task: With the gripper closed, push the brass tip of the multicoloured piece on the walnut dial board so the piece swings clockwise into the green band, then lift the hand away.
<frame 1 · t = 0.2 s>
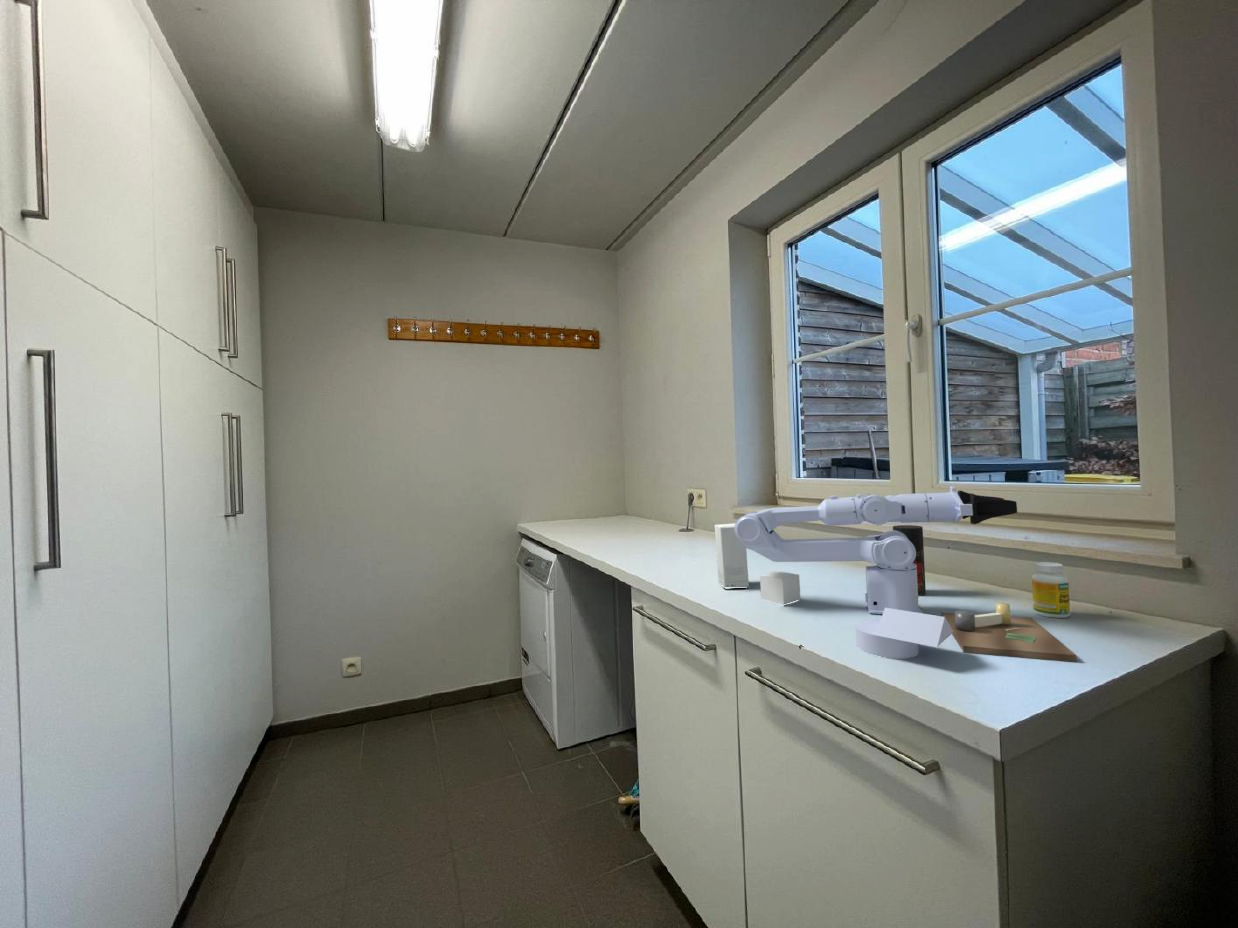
hand: (1009, 505, 96), 21 cm above the table, tool horizontal, fingers open, 7 cm apart
supplement bottle: (1051, 615, 97), on the table
dial board: (1000, 636, 87), on the table
deodorant: (910, 593, 117), on the table
tape dispenser: (900, 652, 82), on the table
skincare box: (732, 586, 131), on the table
adhesive note: (780, 602, 115), on the table
multicoloured piece: (983, 616, 89), point 3 cm above the table, hinge at 35.0°
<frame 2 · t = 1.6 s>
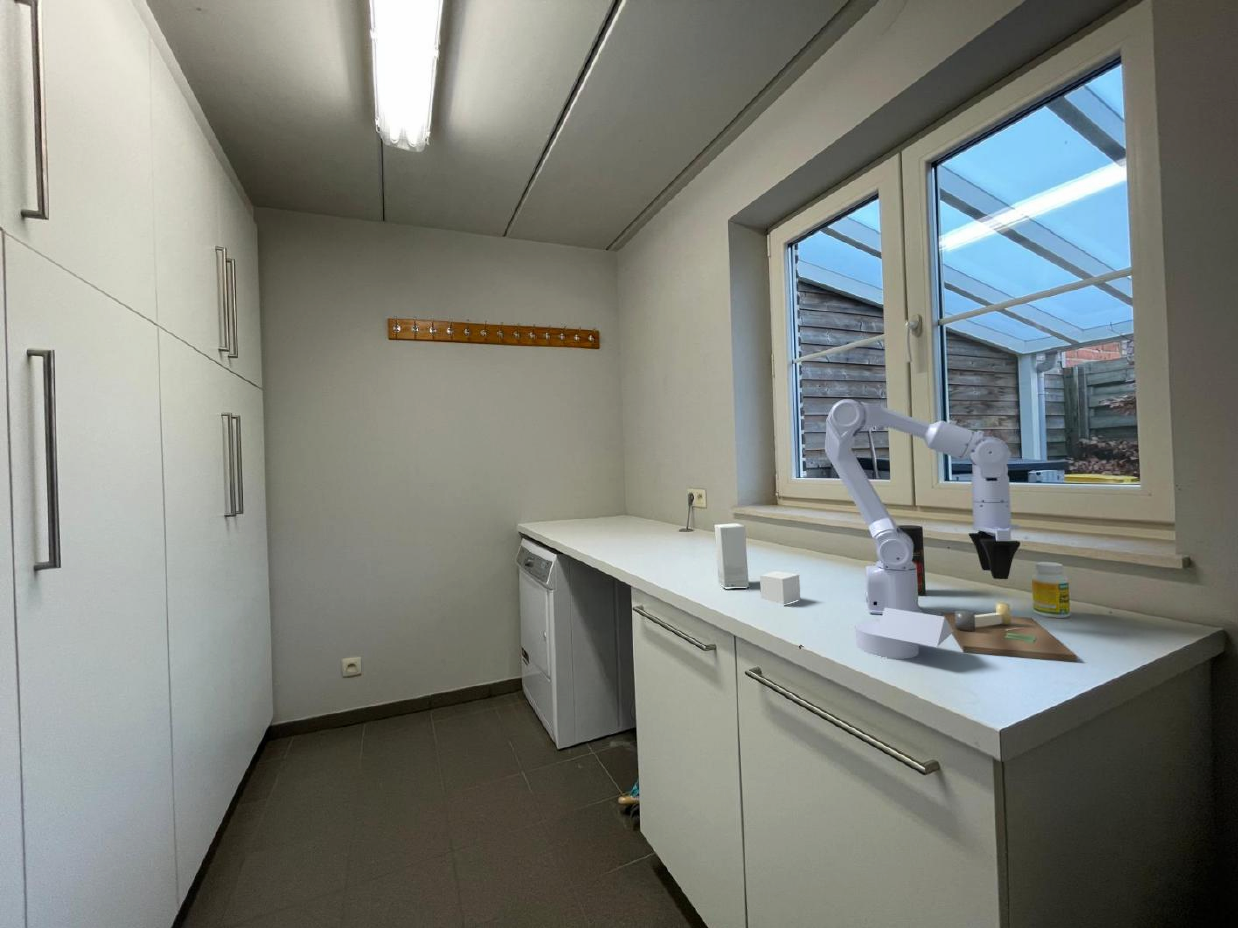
hand: (994, 574, 96), 8 cm above the table, tool pointing down, fingers open, 7 cm apart
nothing on the table moved.
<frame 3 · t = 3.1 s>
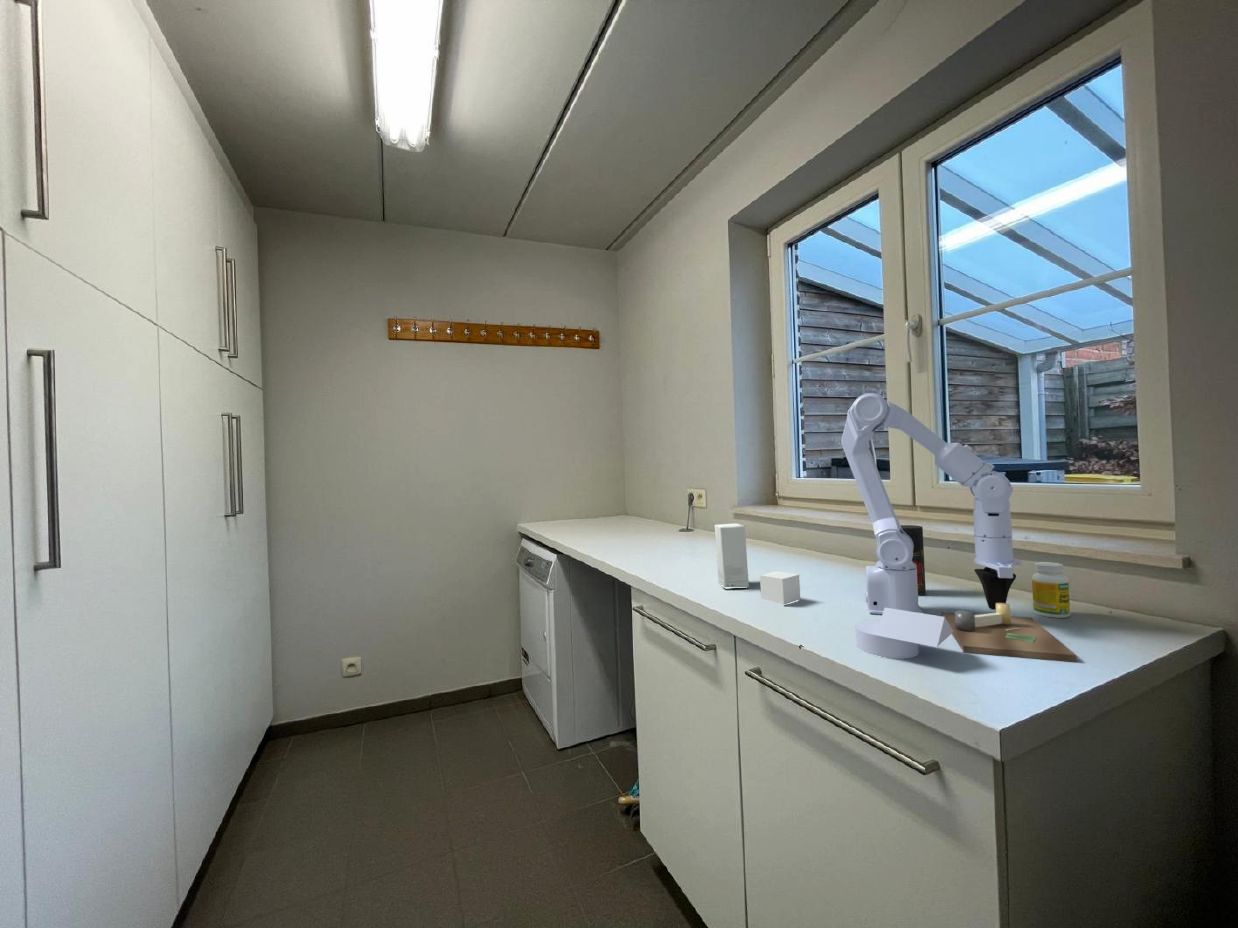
hand: (996, 608, 95), 2 cm above the table, tool pointing down, fingers closed
nothing on the table moved.
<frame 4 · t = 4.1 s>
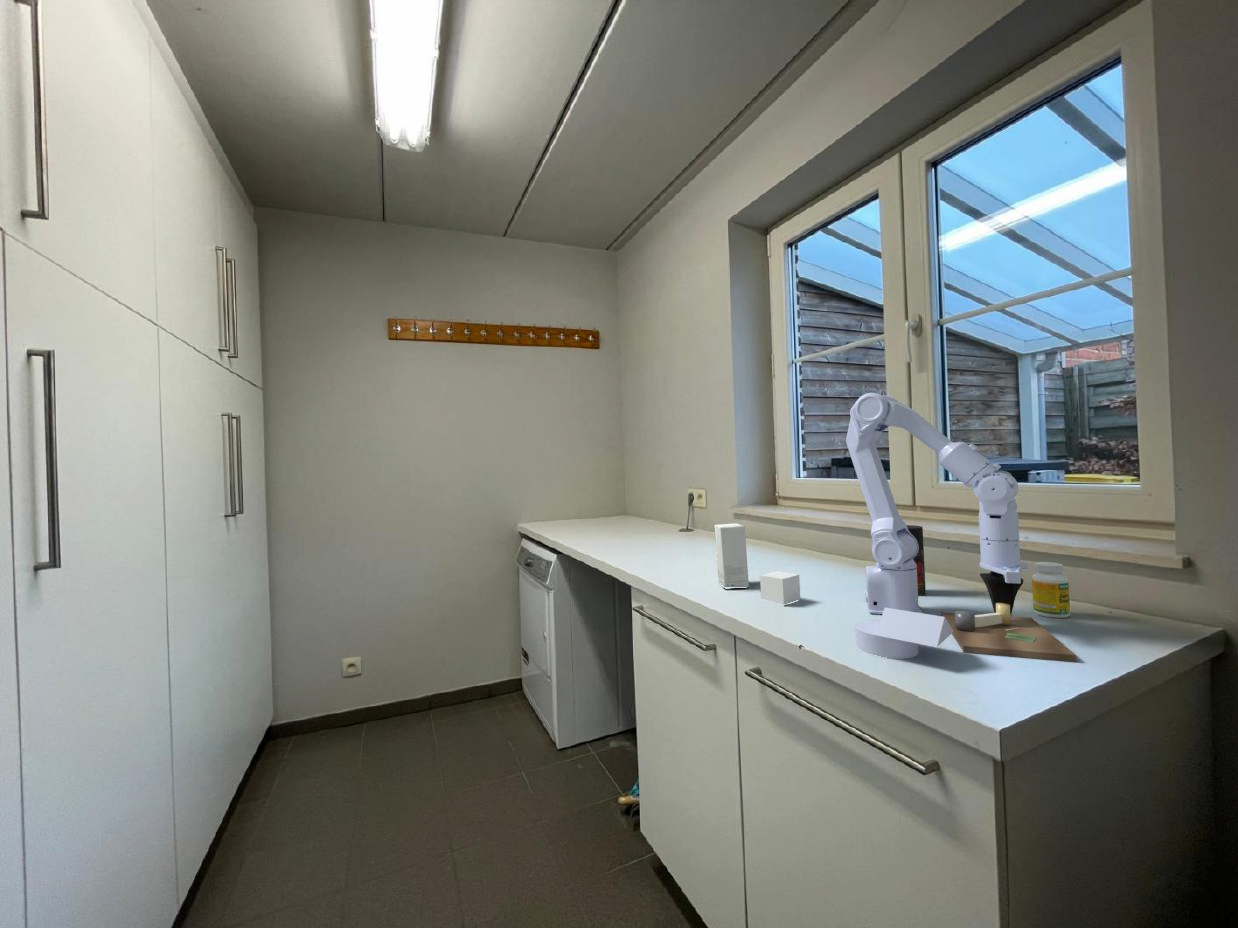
hand: (1002, 614, 92), 2 cm above the table, tool pointing down, fingers closed, pressing on multicoloured piece
multicoloured piece: (983, 616, 89), point 3 cm above the table, hinge at 35.0°, touching gripper
everything else where it was.
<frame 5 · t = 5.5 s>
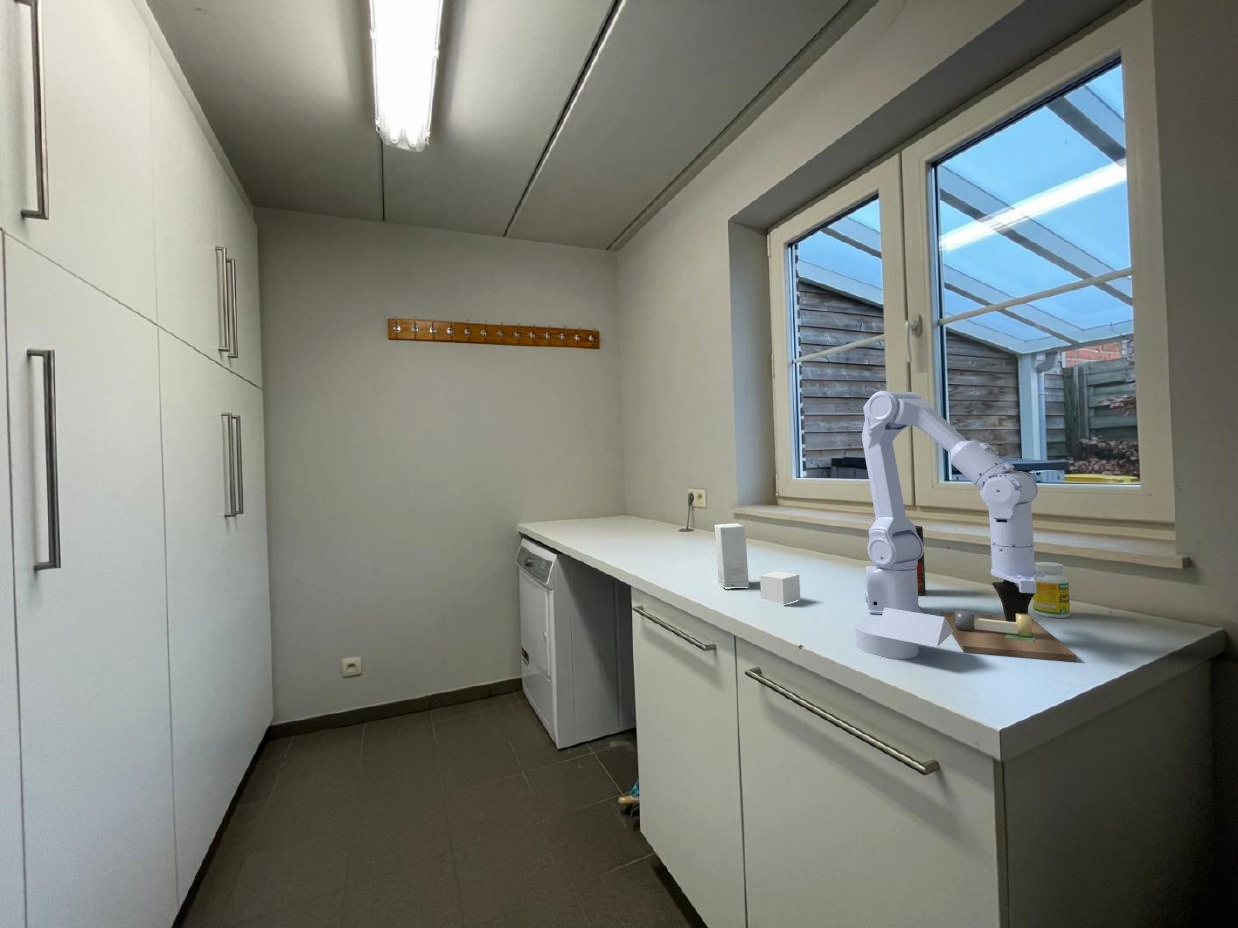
hand: (1016, 626, 85), 2 cm above the table, tool pointing down, fingers closed, pressing on multicoloured piece
multicoloured piece: (992, 621, 86), point 3 cm above the table, hinge at -11.0°, touching gripper
everything else where it was.
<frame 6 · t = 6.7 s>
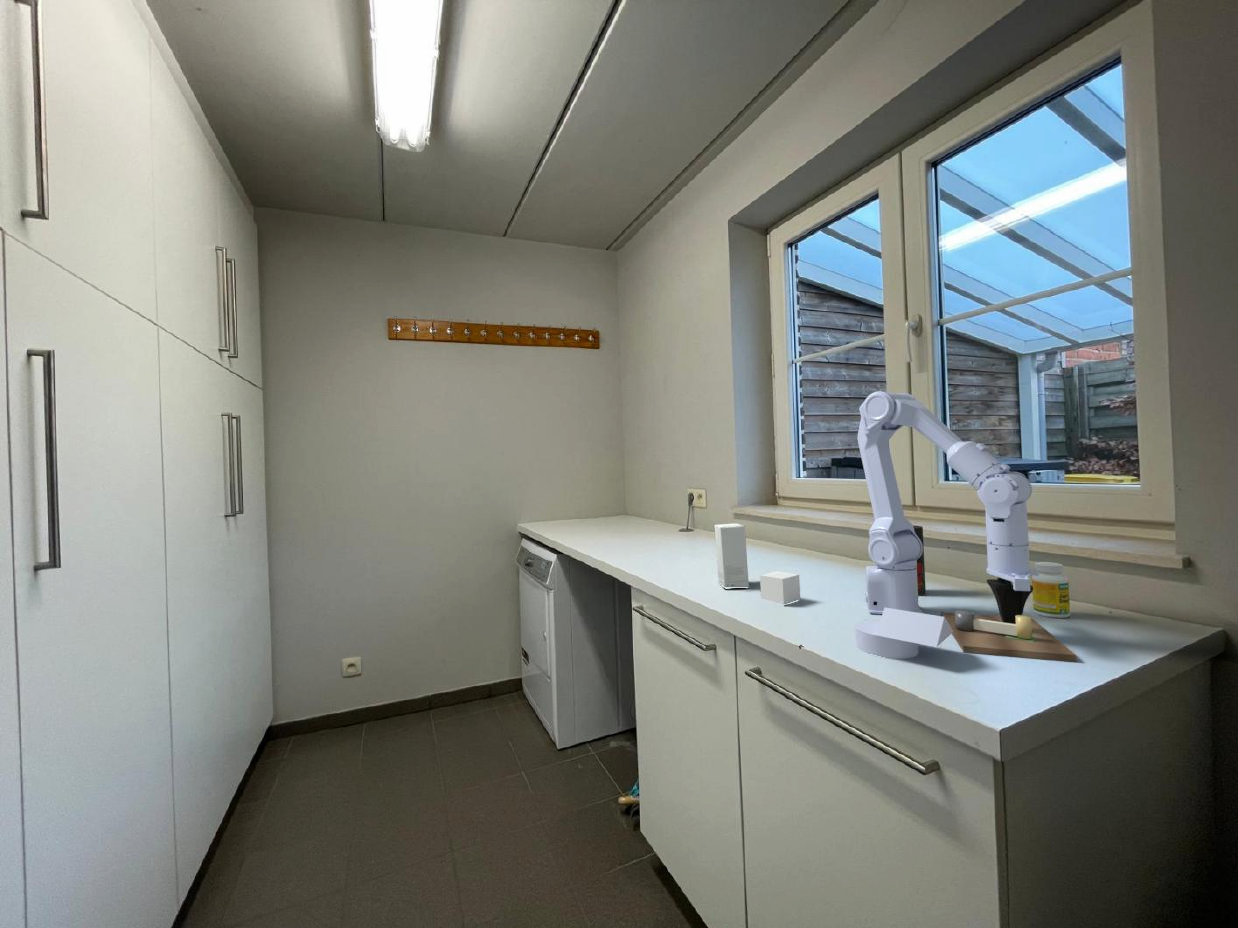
hand: (1010, 623, 87), 2 cm above the table, tool pointing down, fingers closed
multicoloured piece: (991, 622, 86), point 3 cm above the table, hinge at -21.1°
everything else where it was.
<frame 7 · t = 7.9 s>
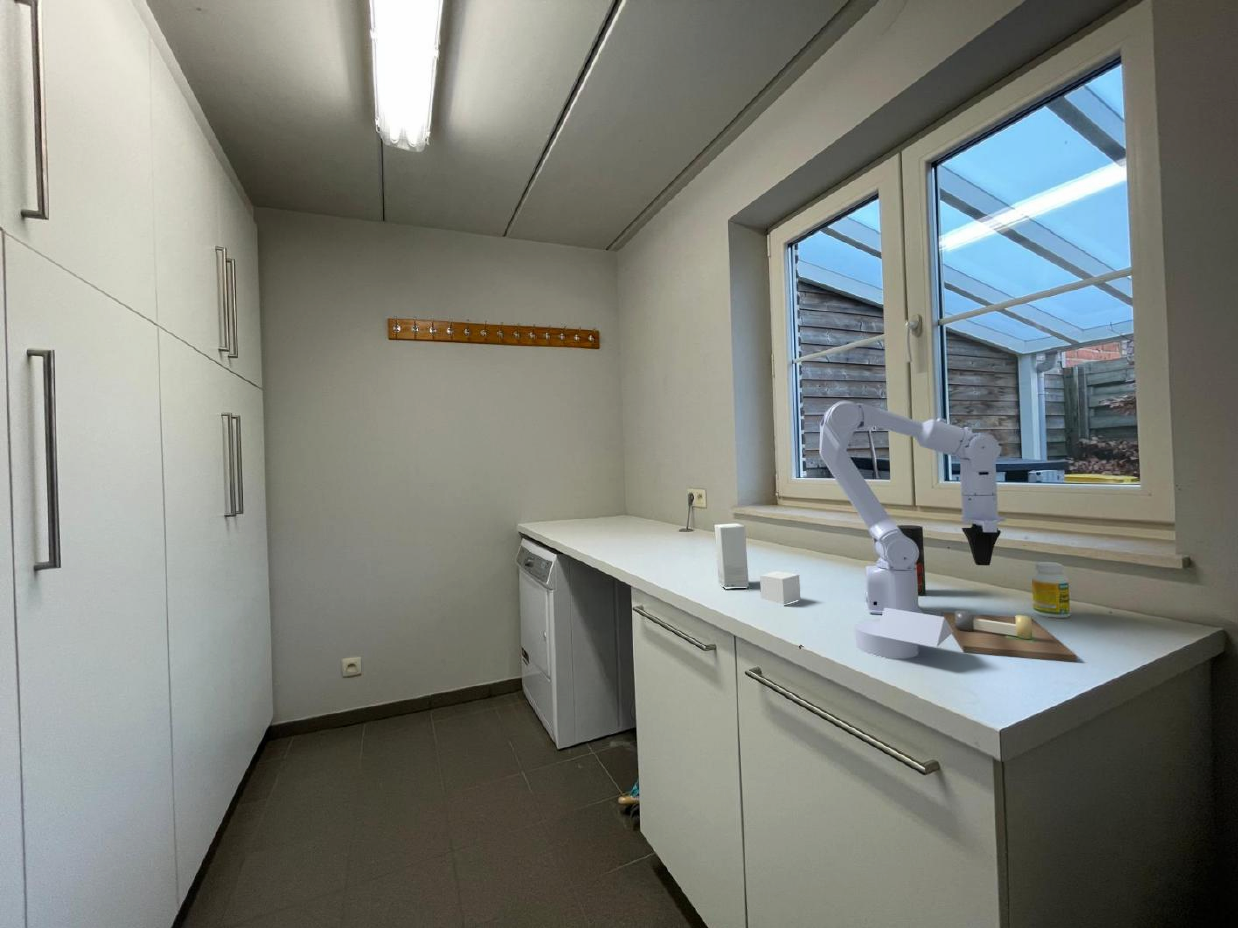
hand: (982, 564, 100), 9 cm above the table, tool pointing down, fingers closed
nothing on the table moved.
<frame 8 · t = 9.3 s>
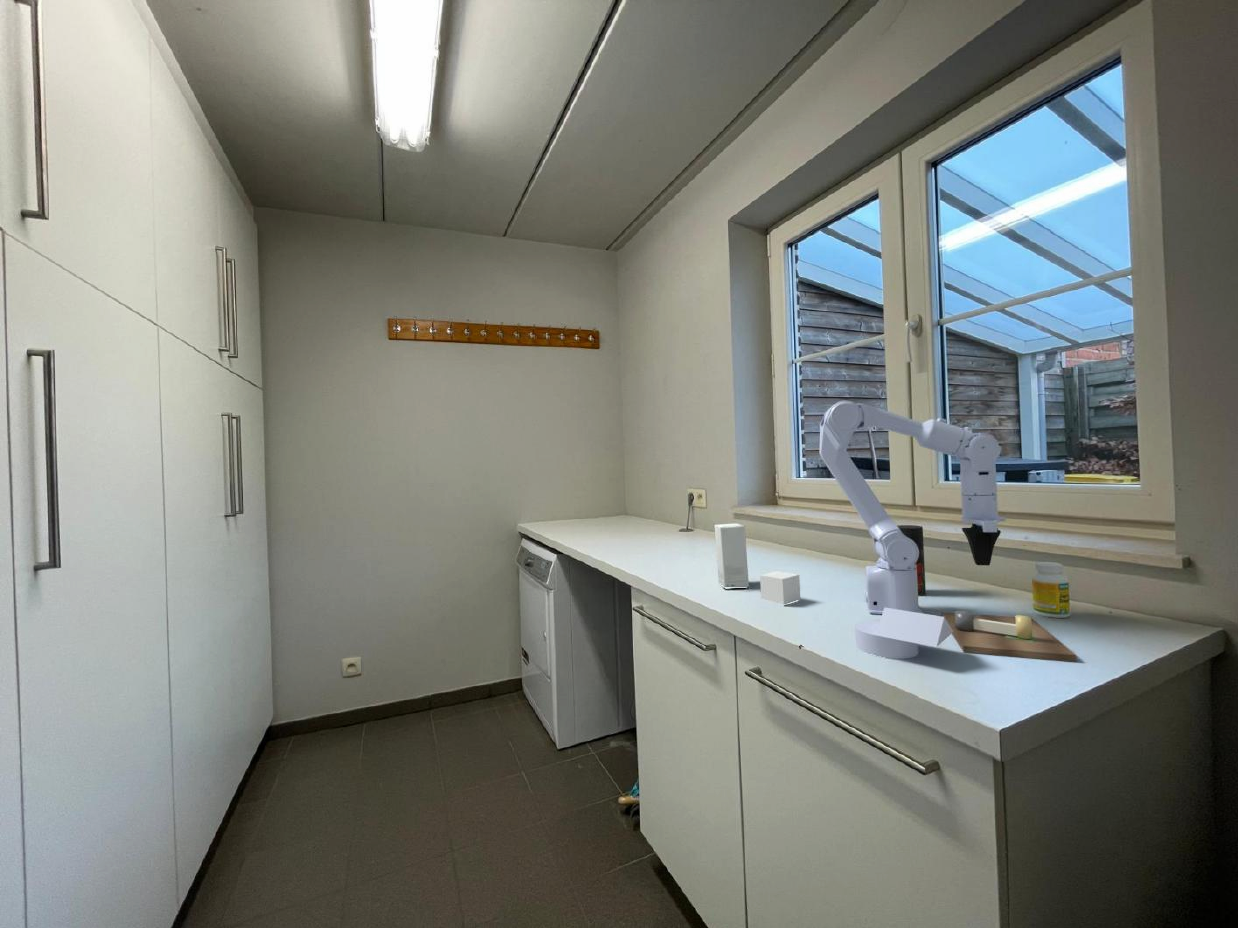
hand: (982, 564, 100), 9 cm above the table, tool pointing down, fingers closed
nothing on the table moved.
at the end: multicoloured piece at -21° (first picture: +35°) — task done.
